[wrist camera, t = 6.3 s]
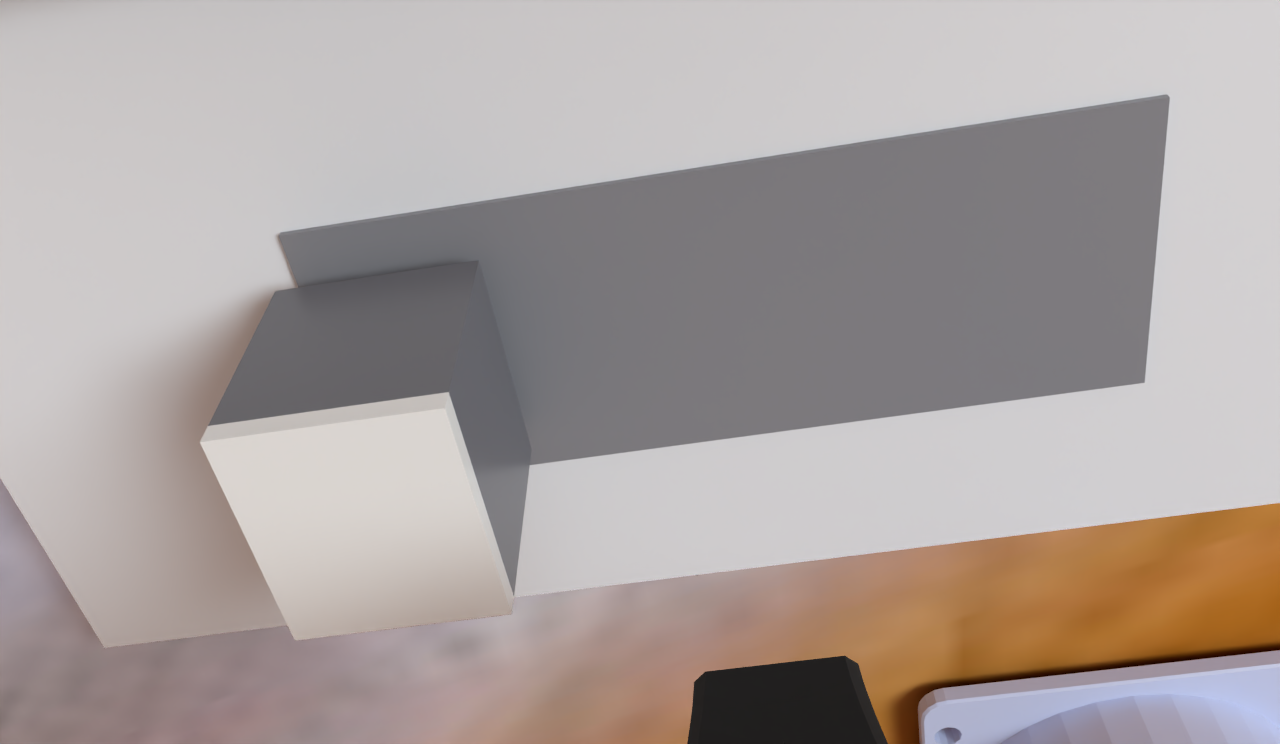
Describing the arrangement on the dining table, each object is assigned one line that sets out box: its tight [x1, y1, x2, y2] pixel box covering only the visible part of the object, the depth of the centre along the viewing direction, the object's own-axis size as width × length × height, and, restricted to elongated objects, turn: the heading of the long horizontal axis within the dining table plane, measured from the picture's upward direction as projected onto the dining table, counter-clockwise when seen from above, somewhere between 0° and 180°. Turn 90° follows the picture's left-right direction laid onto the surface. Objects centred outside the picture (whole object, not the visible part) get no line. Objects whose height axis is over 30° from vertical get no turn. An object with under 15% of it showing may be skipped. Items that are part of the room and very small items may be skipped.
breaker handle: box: [200, 260, 532, 641], centre depth 15 cm, size 3×3×3 cm
